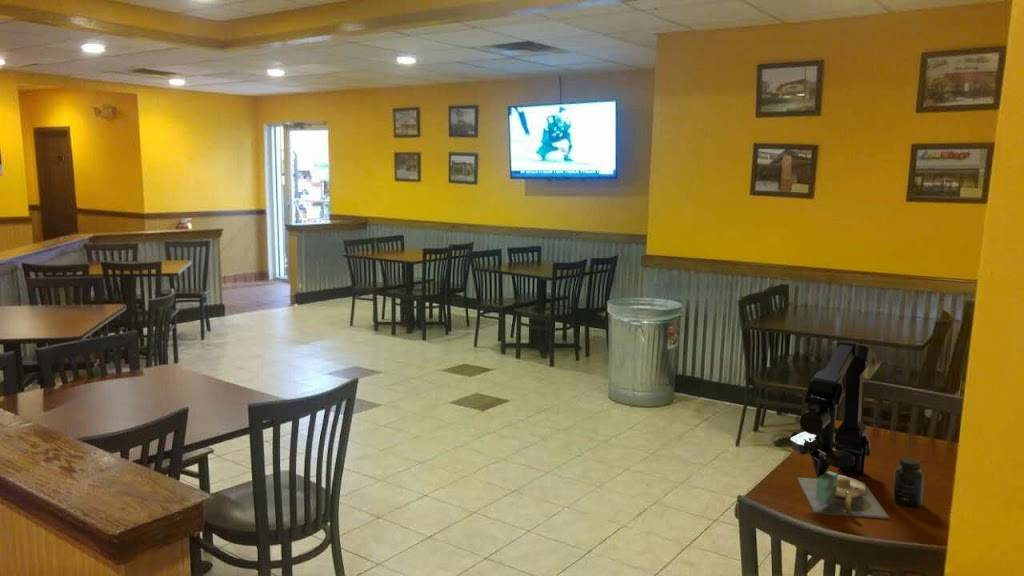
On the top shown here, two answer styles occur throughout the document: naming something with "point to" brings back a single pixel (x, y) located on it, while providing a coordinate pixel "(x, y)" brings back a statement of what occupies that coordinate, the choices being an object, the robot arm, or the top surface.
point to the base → (842, 502)
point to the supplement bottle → (908, 483)
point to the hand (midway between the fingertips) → (819, 478)
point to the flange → (837, 486)
